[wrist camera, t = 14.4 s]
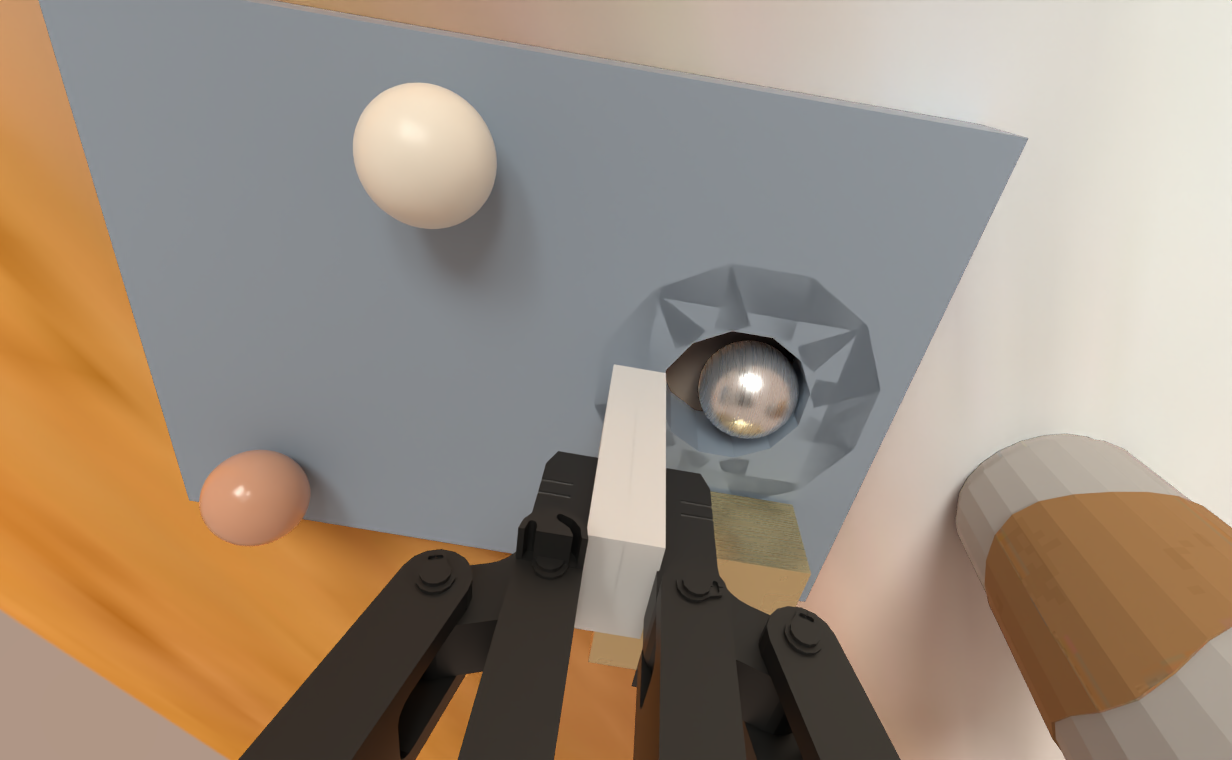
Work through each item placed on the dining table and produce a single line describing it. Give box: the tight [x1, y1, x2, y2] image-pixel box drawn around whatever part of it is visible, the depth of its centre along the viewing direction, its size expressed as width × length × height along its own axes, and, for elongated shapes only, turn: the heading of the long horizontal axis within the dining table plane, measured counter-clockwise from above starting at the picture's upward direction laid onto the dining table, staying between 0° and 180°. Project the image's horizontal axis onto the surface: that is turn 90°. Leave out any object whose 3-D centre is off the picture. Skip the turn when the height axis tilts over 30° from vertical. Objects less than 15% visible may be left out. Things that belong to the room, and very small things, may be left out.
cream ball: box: [353, 83, 497, 229], centre depth 14 cm, size 3×3×3 cm
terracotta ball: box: [199, 450, 311, 546], centre depth 20 cm, size 3×3×3 cm
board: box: [39, 0, 1028, 602], centre depth 19 cm, size 17×24×2 cm
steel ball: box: [698, 341, 799, 439], centre depth 19 cm, size 3×3×3 cm
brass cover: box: [588, 491, 811, 670], centre depth 20 cm, size 6×6×4 cm
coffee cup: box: [955, 434, 1232, 760], centre depth 16 cm, size 8×8×15 cm
